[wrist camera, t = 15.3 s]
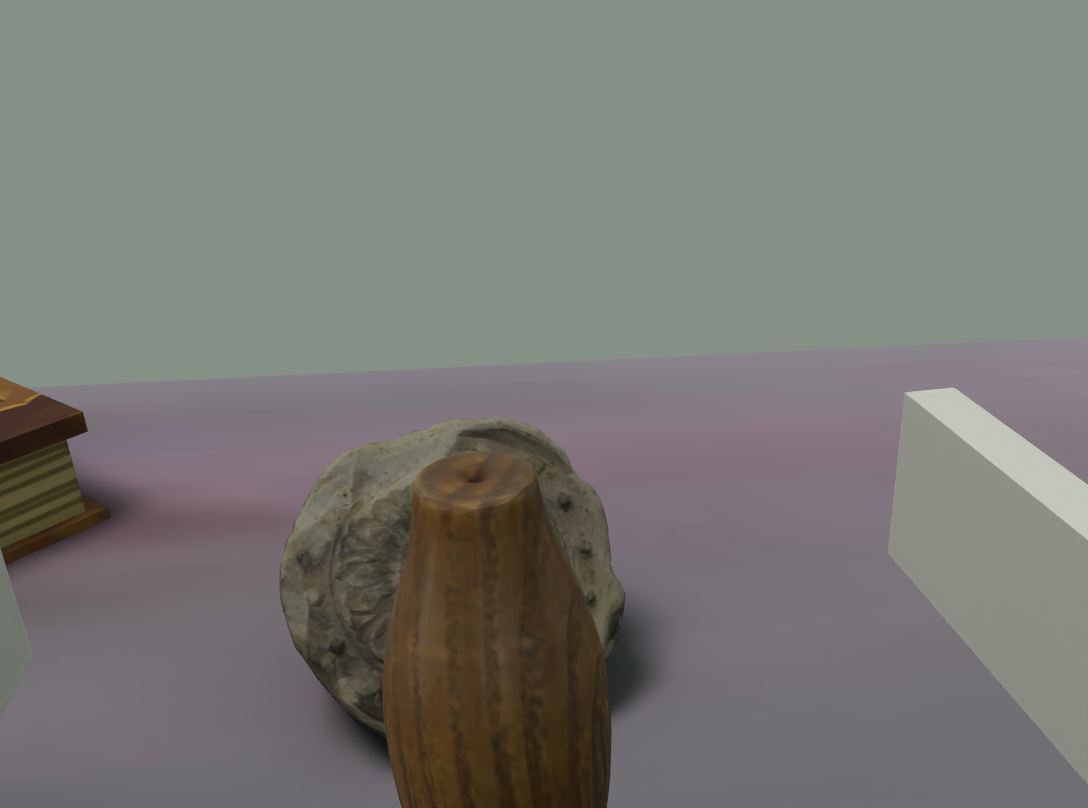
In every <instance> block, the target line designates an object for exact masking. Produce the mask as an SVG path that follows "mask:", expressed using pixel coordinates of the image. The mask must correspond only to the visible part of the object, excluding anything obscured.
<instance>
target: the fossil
mask: <svg viewBox="0 0 1088 808" xmlns="http://www.w3.org/2000/svg"><path fill="white" fill-rule="evenodd" d="M484 450H490V451H495V452H500V453H506V454H511V455H517V456H518V457H520V458H522V459H523V460H525V461H527V462H528V463H530V464H532V466H533V468H534V469H535V471H536V473H537V477H538V482H539V486H540V490H541V494H542V498H543V501H544V504H545V507H546V511H547V514H548V517H549V520H550V522H551V524H552V526H553V529H554V531H555V533H556V536H557V538H558V540H559V542H560V545H561V547H562V549H563V551H564V553H565V555H566V557H567V559H568V561H569V563H570V565H571V567H572V569H573V571H574V573H575V575H576V577H577V579H578V581H579V584H580V586H581V589H582V591H583V594H584V596H585V599H586V601H587V604H588V606H589V609H590V611H591V614H592V616H593V619H594V621H595V624H596V628H597V631H598V634H599V638H600V641H601V646H602V650H603V654H604V659H605V663H606V662H607V660H608V658H609V656H610V654H611V652H612V650H613V649H614V646H615V644H616V642H617V639H618V636H619V632H620V629H621V624H622V617H623V610H624V602H625V595H626V594H625V592H624V590H623V588H622V586H621V584H620V582H619V581H618V580H617V578H616V577H615V575H614V574H613V571H612V567H611V564H610V562H611V553H610V543H609V536H608V525H607V520H606V516H605V512H604V508H603V506H602V503H601V501H600V498H599V496H598V494H597V493H596V492H595V490H594V489H593V487H592V486H591V485H590V484H589V483H587V482H585V481H583V480H581V479H580V478H579V477H578V475H577V473H576V472H575V471H574V470H573V469H572V466H571V464H570V461H569V459H568V457H567V455H566V454H565V452H564V451H563V450H562V449H561V448H560V447H559V446H558V445H557V444H556V443H555V442H554V441H553V440H552V439H550V438H549V437H548V436H546V435H545V434H544V433H543V432H541V431H540V430H538V429H536V428H534V427H532V426H530V425H528V424H527V423H525V422H521V421H517V420H514V419H510V418H505V417H501V416H497V417H486V418H481V419H454V420H448V421H446V422H443V423H440V424H437V425H433V426H431V427H430V428H429V429H428V430H415V431H413V432H411V433H408V434H406V435H404V436H401V437H400V438H398V439H395V440H393V441H387V442H380V443H372V444H368V445H366V446H364V447H356V448H352V449H350V450H348V451H347V452H345V453H344V454H342V455H341V456H339V457H338V458H336V459H335V461H334V462H333V463H332V464H331V465H330V466H329V467H328V468H327V469H326V470H325V472H324V473H323V474H322V475H321V477H320V478H319V479H318V480H317V482H316V484H315V485H314V487H313V489H312V491H311V492H310V494H309V496H308V498H307V500H306V501H305V503H304V505H303V507H302V511H301V515H300V516H299V517H298V519H297V520H296V521H295V522H294V526H293V531H292V532H291V533H290V535H289V537H288V539H287V541H286V546H285V551H284V557H283V559H282V561H281V564H280V599H281V603H282V607H283V610H284V614H285V618H286V622H287V625H288V628H289V631H290V634H291V637H292V640H293V643H294V646H295V648H296V649H297V651H298V652H299V653H300V654H301V656H302V657H303V658H304V660H305V661H306V663H307V664H308V666H309V667H310V669H311V670H312V672H313V673H314V674H315V676H316V677H317V679H318V680H319V681H320V682H321V684H322V685H323V686H324V687H325V688H326V689H327V690H328V692H329V693H330V694H331V695H332V696H333V697H334V698H335V699H336V700H337V701H338V703H339V704H340V705H341V706H342V707H343V708H344V709H345V710H346V711H347V713H348V714H349V715H350V716H351V717H352V718H354V719H355V720H356V721H357V722H358V723H359V724H360V725H362V726H363V727H365V728H366V729H367V730H369V731H370V732H372V733H373V734H375V735H376V736H378V737H381V738H384V739H386V740H387V737H386V730H385V721H384V711H383V694H382V679H383V664H384V656H385V648H386V641H387V636H388V631H389V626H390V621H391V616H392V610H393V605H394V601H395V597H396V593H397V589H398V585H399V581H400V577H401V573H402V569H403V565H404V561H405V557H406V553H407V549H408V544H409V536H410V529H411V515H412V498H413V485H414V482H415V479H416V477H417V475H418V474H419V473H420V472H421V471H422V469H423V468H425V467H427V466H428V465H430V464H431V463H433V462H435V461H436V460H438V459H440V458H444V457H447V456H451V455H455V454H459V453H462V452H466V451H484Z"/></svg>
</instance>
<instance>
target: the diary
mask: <svg viewBox="0 0 1088 808" xmlns="http://www.w3.org/2000/svg"><path fill="white" fill-rule="evenodd" d="M87 431H88V430H87V426H86V422H85V418H84V415H83V412H82V411H79V410H77V409H75V408H72V407H70V406H68V405H65V404H63V403H61V402H58V401H56V400H53V399H51V398H49V397H46V396H44V395H42V394H39V393H37V392H35V391H32V390H30V389H27V388H25V387H23V386H20V385H18V384H16V383H13V382H11V381H8V380H6V379H4V378H1V377H0V549H1V552H2V556H3V559H4V562H5V565H6V564H8V563H11V562H13V561H15V560H17V559H19V558H22V557H24V556H26V555H28V554H30V553H33V552H35V551H37V550H39V549H42V548H44V547H46V546H48V545H50V544H53V543H55V542H57V541H59V540H61V539H64V538H66V537H68V536H70V535H72V534H75V533H77V532H79V531H81V530H83V529H86V528H88V527H90V526H92V525H94V524H97V523H99V522H101V521H103V520H105V519H108V518H110V517H109V513H108V509H107V508H106V507H104V506H102V505H100V504H98V503H96V502H94V501H92V500H90V499H88V498H87V497H85V496H83V495H81V493H80V489H79V486H78V482H77V478H76V474H75V470H74V467H73V463H72V459H71V455H70V452H69V448H68V444H67V440H66V439H69V438H72V437H74V436H77V435H79V434H82V433H85V432H87Z"/></svg>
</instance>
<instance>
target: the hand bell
mask: <svg viewBox="0 0 1088 808" xmlns="http://www.w3.org/2000/svg"><path fill="white" fill-rule="evenodd" d="M382 694H383V711H384V721H385V730H386V737H387V744H388V750H389V757H390V763H391V767H392V771H393V775H394V779H395V783H396V788H397V792H398V796H399V800H400V803H401V806H402V808H607V801H608V792H609V782H610V765H611V735H612V733H611V718H610V703H609V688H608V675H607V669H606V663H605V659H604V654H603V650H602V646H601V641H600V638H599V634H598V631H597V628H596V624H595V621H594V619H593V616H592V614H591V611H590V609H589V606H588V604H587V601H586V599H585V596H584V594H583V591H582V589H581V586H580V584H579V581H578V579H577V577H576V575H575V573H574V571H573V569H572V567H571V565H570V563H569V561H568V559H567V557H566V555H565V553H564V551H563V549H562V547H561V545H560V542H559V540H558V538H557V536H556V533H555V531H554V529H553V526H552V524H551V522H550V520H549V517H548V514H547V511H546V507H545V504H544V501H543V498H542V494H541V490H540V486H539V482H538V477H537V473H536V471H535V469H534V468H533V466H532V464H530V463H528V462H527V461H525V460H523V459H522V458H520V457H518V456H517V455H511V454H506V453H500V452H495V451H490V450H484V451H466V452H462V453H459V454H455V455H451V456H447V457H444V458H440V459H438V460H436V461H435V462H433V463H431V464H430V465H428V466H427V467H425V468H423V469H422V471H421V472H420V473H419V474H418V475H417V477H416V479H415V482H414V485H413V498H412V515H411V529H410V536H409V544H408V549H407V553H406V557H405V561H404V565H403V569H402V573H401V577H400V581H399V585H398V589H397V593H396V597H395V601H394V605H393V610H392V616H391V621H390V626H389V631H388V636H387V641H386V648H385V656H384V664H383V679H382Z"/></svg>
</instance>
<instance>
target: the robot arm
mask: <svg viewBox="0 0 1088 808" xmlns="http://www.w3.org/2000/svg"><path fill="white" fill-rule="evenodd" d="M888 554H889V555H890V556H891V557H892V558H893V560H894V561H895V562H896V563H897V564H898V565H899V566H900V568H901V569H902V570H903V571H904V572H905V573H906V575H907V576H908V577H909V578H910V579H911V580H912V582H913V583H914V584H915V585H916V586H917V587H918V588H919V590H920V591H921V592H922V593H923V594H924V595H925V597H926V598H927V599H928V600H929V601H930V602H931V603H932V605H933V606H934V607H935V608H936V609H937V610H938V612H939V613H940V614H941V615H942V616H943V617H944V619H945V620H946V621H947V622H948V623H949V624H950V625H951V627H952V628H953V629H954V630H955V631H956V632H957V634H958V635H959V636H960V637H961V638H962V639H963V641H964V642H965V643H966V644H967V645H968V646H969V647H970V649H971V650H972V651H973V652H974V653H975V654H976V656H977V657H978V658H979V659H980V660H981V661H982V662H983V664H984V665H985V666H986V667H987V668H988V669H989V671H990V672H991V673H992V674H993V675H994V676H995V678H996V679H997V680H998V681H999V682H1000V683H1001V684H1002V686H1003V687H1004V688H1005V689H1006V690H1007V691H1008V693H1009V694H1010V695H1011V696H1012V697H1013V698H1014V699H1015V701H1016V702H1017V703H1018V704H1019V705H1020V706H1021V708H1022V709H1023V710H1024V711H1025V712H1026V713H1027V715H1028V716H1029V717H1030V718H1031V719H1032V720H1033V721H1034V723H1035V724H1036V725H1037V726H1038V727H1039V728H1040V730H1041V731H1042V732H1043V733H1044V734H1045V735H1046V736H1047V738H1048V739H1049V740H1050V741H1051V742H1052V743H1053V745H1054V746H1055V747H1056V748H1057V749H1058V750H1059V752H1060V753H1061V754H1062V755H1063V756H1064V757H1065V758H1066V760H1067V761H1068V762H1069V763H1070V764H1071V765H1072V767H1073V768H1074V769H1075V770H1076V771H1077V772H1078V773H1079V775H1080V776H1081V777H1082V778H1083V779H1084V780H1085V782H1086V783H1087V784H1088V485H1087V484H1086V483H1085V482H1083V481H1082V480H1080V479H1079V478H1078V477H1076V476H1075V475H1074V474H1072V473H1071V472H1069V471H1068V470H1067V469H1065V468H1064V467H1062V466H1061V465H1060V464H1058V463H1057V462H1056V461H1054V460H1053V459H1051V458H1050V457H1049V456H1047V455H1046V454H1045V453H1043V452H1042V451H1040V450H1039V449H1038V448H1036V447H1035V446H1034V445H1032V444H1031V443H1029V442H1028V441H1027V440H1025V439H1024V438H1023V437H1021V436H1020V435H1018V434H1017V433H1016V432H1014V431H1013V430H1012V429H1010V428H1009V427H1007V426H1006V425H1005V424H1003V423H1002V422H1000V421H999V420H998V419H996V418H995V417H994V416H992V415H991V414H989V413H988V412H987V411H985V410H984V409H983V408H981V407H980V406H978V405H977V404H976V403H974V402H973V401H972V400H970V399H969V398H967V397H966V396H965V395H963V394H962V393H961V392H959V391H958V390H956V389H955V388H945V389H935V390H925V391H915V392H906V393H905V395H904V404H903V413H902V423H901V432H900V442H899V451H898V460H897V470H896V479H895V489H894V498H893V508H892V517H891V526H890V536H889V545H888ZM32 657H33V653H32V649H31V646H30V643H29V640H28V637H27V633H26V630H25V627H24V624H23V620H22V617H21V614H20V611H19V607H18V604H17V601H16V598H15V594H14V591H13V588H12V585H11V581H10V578H9V575H8V572H7V568H6V565H5V562H4V559H3V556H2V552H1V549H0V718H1V716H2V714H3V712H4V710H5V708H6V706H7V704H8V702H9V701H10V699H11V697H12V695H13V693H14V691H15V689H16V687H17V686H18V684H19V682H20V680H21V678H22V676H23V674H24V672H25V670H26V669H27V667H28V665H29V663H30V661H31V659H32Z"/></svg>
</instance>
